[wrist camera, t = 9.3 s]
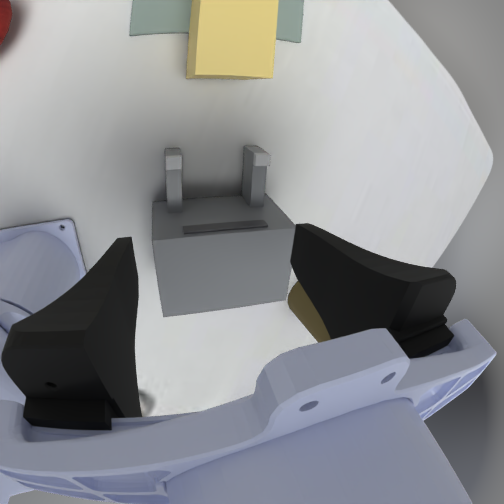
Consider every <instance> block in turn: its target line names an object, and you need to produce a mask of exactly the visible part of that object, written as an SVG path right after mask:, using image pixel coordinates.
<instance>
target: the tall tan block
mask: <svg viewBox="0 0 504 504" xmlns="http://www.w3.org/2000/svg"><path fill="white" fill-rule="evenodd" d="M278 2H279V0H192V5H191V16H190V27H189V40H188V55H187V73H186V79H195V78H209V79H241V80H248V79H267V78H273V67H274V55H275V42H276V29H277V15H278Z"/></svg>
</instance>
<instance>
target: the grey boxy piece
mask: <svg viewBox="0 0 504 504" xmlns="http://www.w3.org/2000/svg"><path fill="white" fill-rule="evenodd" d="M270 156H271V155H270V154H269V153H267V152H266V151H264V150H263V149H261V148H260V147H258V146H244V160H243V177H242V195H240V196H222V197H206V198H192V199H182V173H181V169H182V156H181V153H180V149H179V148H168V149H165V167H166V191H167V201H156V202H153V207H152V245H153V253H154V260H155V268H156V275H157V281H158V288H159V294H160V300H161V306H162V312H163V317H169V316H178V315H186V314H194V313H202V312H209V311H217V310H224V309H231V308H238V307H245V306H251V305H258V304H264V303H270V302H276V301H282V300H286V297H287V291H288V285H289V280H290V274H291V268H292V265H291V263H290V259H291V253H292V246H293V240H294V234H295V227H296V225H295V224H294V223H293V222H292V221H291V220H290V219H289V218H288V217H287V216H286V214H285V213H284V212H283V211H282V210H281V209H280V208H279V207H278V206H277V205H276V204H275V203H274V202H273V200H272V199H271V198H270V197H269V196H268V195H267V194H265V183H266V172H267V166H270Z"/></svg>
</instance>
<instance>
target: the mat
mask: <svg viewBox="0 0 504 504" xmlns="http://www.w3.org/2000/svg"><path fill="white" fill-rule="evenodd" d="M191 5H192V0H133V4H132V13H131V23H130V34H129V35H130V36H136V35H148V34H166V33H189V27H190V16H191ZM303 5H304V0H279V2H278V15H277V29H276V39H277V40H284V41H290V42H295V43H301V34H302V20H303Z"/></svg>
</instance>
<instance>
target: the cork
mask: <svg viewBox="0 0 504 504" xmlns="http://www.w3.org/2000/svg"><path fill="white" fill-rule="evenodd" d="M288 305H289V308H290V309H291V310H292V312H293V313H294V314H295V315H296V316H297V318H298V319H299V320H300V321H301V322H302V324H303V325H304V326H305V327H306V328H307V330H308V331H309V332H310V333H311V334H312V336H313V337H314V338H315V339H316V340H317V341H318V343H320V342H324V341H328V340H331V338H330V336H329V334H328V331H327V329H326V327H325V325H324V323H323V321H322V319H321V317H320V315H319V313H318V312H317V310H316V308H315V307H314V305H313V304H312V302H311V300H310V299H309V297H308V296H307V294H306V292H305V291H304V289H303V288H302V286H301V284H300V283H299V281H298V282H297V283H296V284H295V285H294V286H293V288H292V289H291V291H290V293H289V296H288Z"/></svg>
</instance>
